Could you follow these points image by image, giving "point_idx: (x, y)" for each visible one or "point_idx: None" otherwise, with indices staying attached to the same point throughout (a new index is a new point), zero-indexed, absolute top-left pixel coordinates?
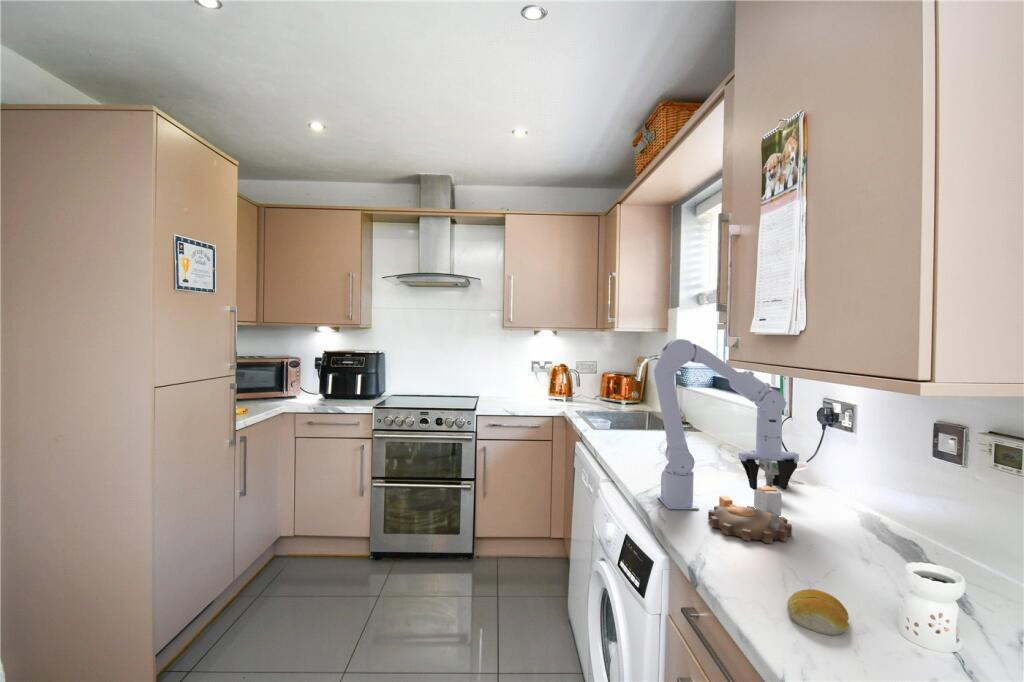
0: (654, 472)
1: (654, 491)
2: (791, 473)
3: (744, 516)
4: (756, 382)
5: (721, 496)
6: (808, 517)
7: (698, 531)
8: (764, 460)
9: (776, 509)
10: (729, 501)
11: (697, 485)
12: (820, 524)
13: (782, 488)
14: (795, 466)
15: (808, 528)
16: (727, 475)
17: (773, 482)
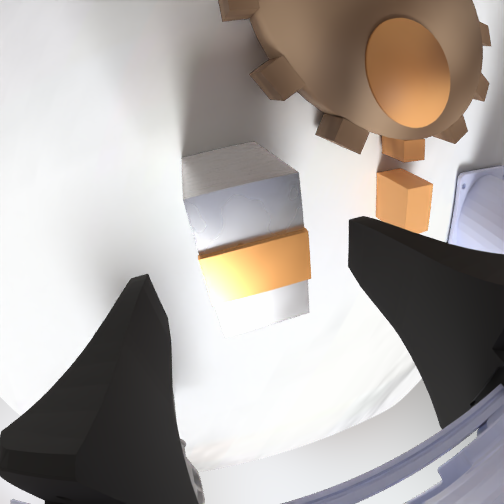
0: (399, 397)
1: None
2: (69, 374)
3: (412, 22)
4: None
5: (422, 230)
6: (57, 198)
7: (486, 22)
8: (196, 495)
9: (208, 160)
10: (415, 185)
11: (357, 374)
12: (31, 123)
13: (153, 289)
14: (9, 439)
15: (100, 44)
16: (246, 448)
17: None
